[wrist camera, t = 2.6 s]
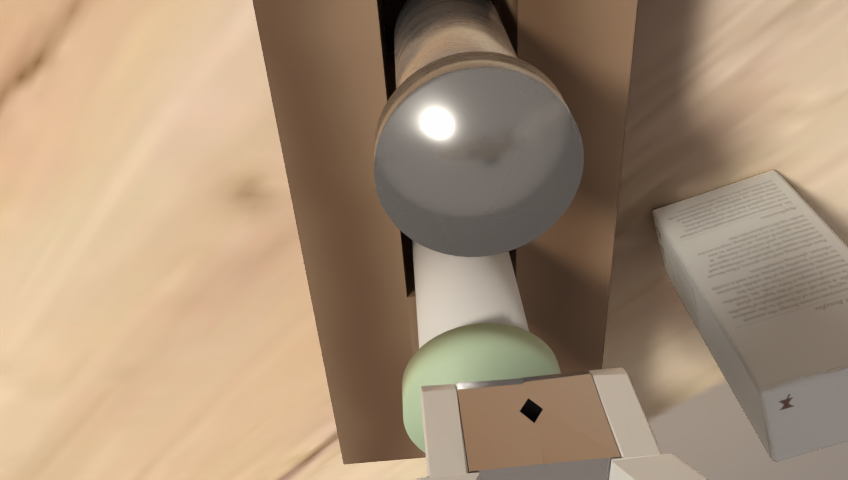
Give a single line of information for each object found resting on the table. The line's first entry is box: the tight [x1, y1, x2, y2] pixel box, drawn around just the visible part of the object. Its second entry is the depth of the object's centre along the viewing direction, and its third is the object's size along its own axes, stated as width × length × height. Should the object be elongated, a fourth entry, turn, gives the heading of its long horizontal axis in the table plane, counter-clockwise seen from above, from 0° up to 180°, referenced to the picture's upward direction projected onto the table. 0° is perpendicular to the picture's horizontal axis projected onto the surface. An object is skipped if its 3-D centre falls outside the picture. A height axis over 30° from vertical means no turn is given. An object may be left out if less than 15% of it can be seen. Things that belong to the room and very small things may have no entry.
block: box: [253, 0, 638, 464], centre depth 31 cm, size 12×24×6 cm, turn 4°
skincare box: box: [652, 170, 848, 462], centre depth 31 cm, size 6×4×12 cm
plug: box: [374, 0, 584, 257], centre depth 21 cm, size 5×5×9 cm
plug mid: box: [402, 240, 561, 453], centre depth 25 cm, size 5×5×9 cm
